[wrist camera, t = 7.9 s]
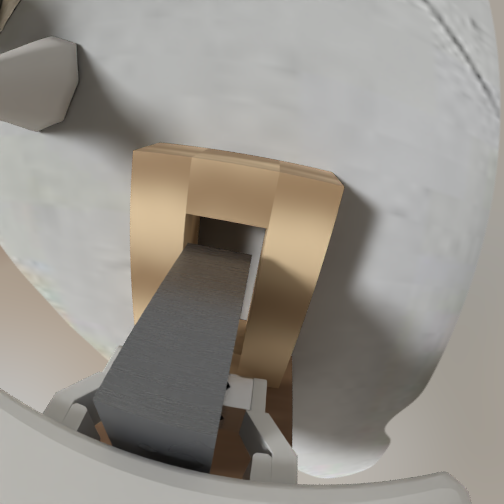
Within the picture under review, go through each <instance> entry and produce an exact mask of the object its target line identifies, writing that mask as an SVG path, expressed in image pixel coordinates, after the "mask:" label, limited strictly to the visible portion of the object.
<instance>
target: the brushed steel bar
mask: <svg viewBox="0 0 504 504" xmlns="http://www.w3.org/2000/svg"><path fill="white" fill-rule="evenodd" d="M251 257H252V255H249V254H244V253H239V252H234V251H228V250H223V249H218V248H213V247H208V246H202V245H197V244H192V243H187V245H186V246H185V248H184V249H183V251H182V252H181V254H180V255H179V257H178V258H177V260H176V261H175V263H174V264H173V266H172V267H171V269H170V271H169V272H168V274H167V275H166V277H165V278H164V280H163V281H162V283H161V285H160V286H159V288H158V289H157V291H156V292H155V294H154V296H153V297H152V299H151V300H150V302H149V304H148V305H147V307H146V308H145V310H144V312H143V313H142V315H141V317H140V318H139V320H138V321H137V323H136V325H135V326H134V328H133V330H132V331H131V333H130V335H129V336H128V338H127V340H126V341H125V343H124V345H123V347H122V348H121V350H120V352H119V353H118V355H117V357H116V359H115V360H114V362H113V364H112V366H111V367H110V369H109V371H108V373H107V374H106V376H105V378H104V380H103V382H102V383H101V385H100V387H99V389H98V391H97V393H96V394H95V396H94V398H93V402H94V404H95V407H96V409H97V412H98V414H99V417H100V419H101V421H102V424H103V426H104V428H105V430H106V433H107V435H108V437H109V439H110V441H111V444H112V446H114V447H116V448H119V449H122V450H124V451H127V452H130V453H133V454H136V455H139V456H142V457H145V458H149V459H152V460H155V461H159V462H162V463H166V464H169V465H173V466H177V467H181V468H185V469H189V470H194V471H198V472H203V473H208V474H210V470H211V464H212V459H213V454H214V449H215V444H216V439H217V434H218V428H219V423H220V418H221V412H222V407H223V402H224V397H225V392H226V387H227V381H228V376H229V372H230V366H231V361H232V356H233V351H234V346H235V340H236V335H237V330H238V325H239V320H240V314H241V309H242V304H243V299H244V294H245V288H246V283H247V278H248V273H249V268H250V262H251Z"/></svg>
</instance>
